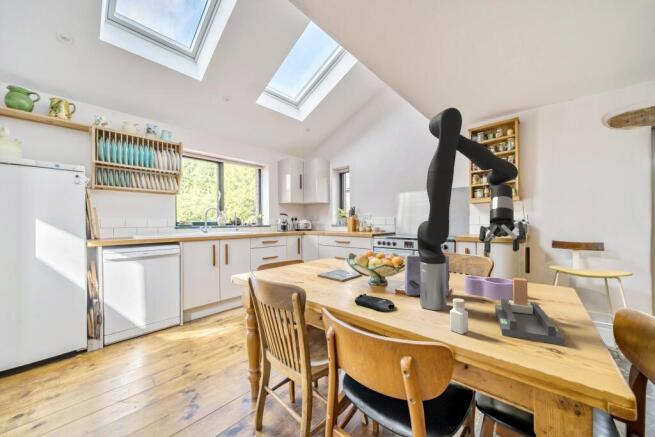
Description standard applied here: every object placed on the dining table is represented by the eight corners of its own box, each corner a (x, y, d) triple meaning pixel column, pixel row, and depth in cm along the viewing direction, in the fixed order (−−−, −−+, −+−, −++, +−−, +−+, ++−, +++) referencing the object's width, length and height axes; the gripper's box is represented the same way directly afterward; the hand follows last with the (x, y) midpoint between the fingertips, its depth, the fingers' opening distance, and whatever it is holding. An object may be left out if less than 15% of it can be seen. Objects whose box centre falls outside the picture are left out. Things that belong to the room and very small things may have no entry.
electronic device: (353, 309, 104) (387, 312, 94) (352, 295, 105) (386, 297, 95) (366, 306, 111) (399, 309, 101) (365, 293, 112) (397, 294, 102)
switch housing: (494, 310, 95) (494, 297, 95) (543, 316, 89) (543, 303, 89) (502, 335, 76) (502, 319, 76) (565, 345, 69) (564, 328, 69)
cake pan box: (448, 293, 117) (447, 254, 117) (452, 296, 112) (451, 255, 112) (404, 292, 119) (403, 254, 118) (406, 296, 114) (406, 256, 113)
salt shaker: (462, 335, 77) (461, 303, 76) (449, 330, 80) (448, 299, 80) (469, 331, 79) (468, 300, 79) (456, 327, 82) (455, 297, 82)
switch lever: (508, 306, 92) (508, 276, 92) (529, 309, 89) (529, 278, 89) (510, 311, 88) (510, 279, 88) (533, 314, 85) (532, 281, 85)
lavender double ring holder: (462, 295, 114) (462, 279, 114) (468, 288, 124) (467, 274, 124) (519, 304, 102) (519, 286, 102) (520, 295, 111) (520, 279, 111)
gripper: (477, 210, 102) (475, 249, 96) (519, 203, 91) (520, 246, 85) (485, 218, 106) (484, 255, 100) (527, 212, 94) (529, 254, 89)
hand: (501, 251), depth 92 cm, fingers open, 8 cm apart
